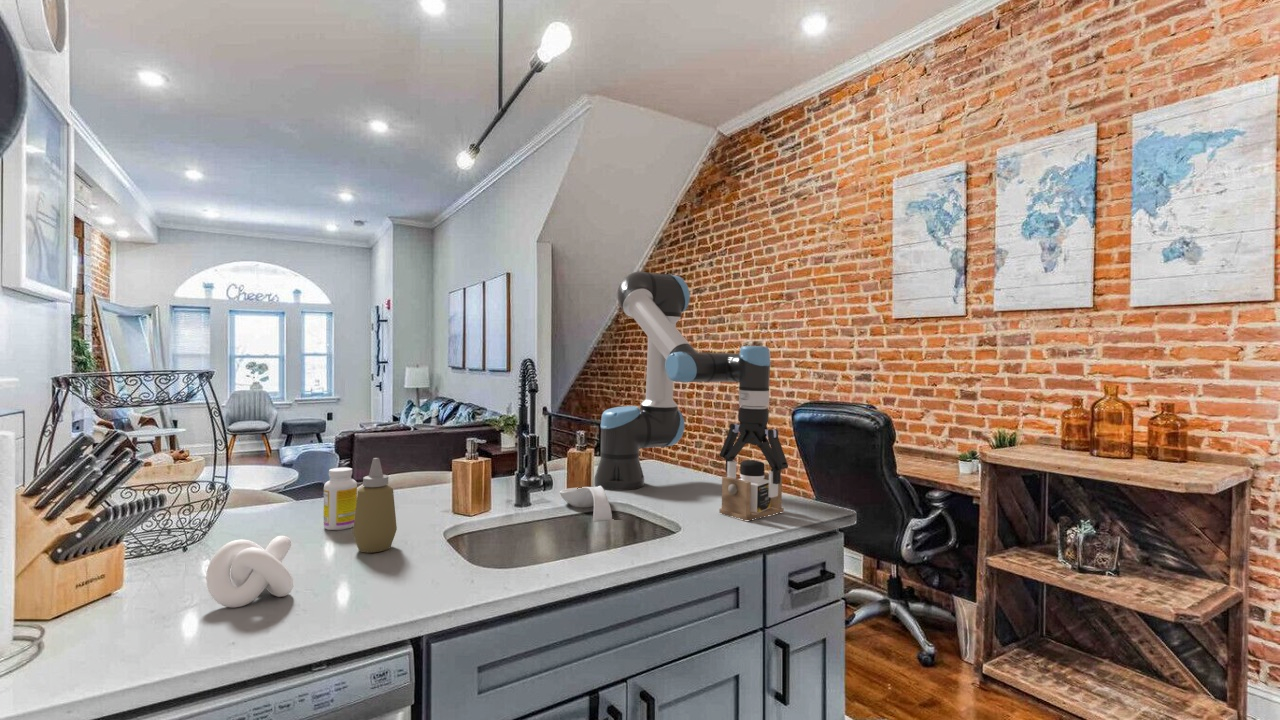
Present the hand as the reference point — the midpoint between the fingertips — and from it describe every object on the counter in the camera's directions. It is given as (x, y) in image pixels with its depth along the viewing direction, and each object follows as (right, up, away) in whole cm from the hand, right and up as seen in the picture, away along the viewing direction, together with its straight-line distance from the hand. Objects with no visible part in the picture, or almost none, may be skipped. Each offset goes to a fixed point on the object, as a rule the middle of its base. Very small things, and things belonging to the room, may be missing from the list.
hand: (751, 491), depth 150 cm
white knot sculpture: (-89, -5, -55) cm, 105 cm away
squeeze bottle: (-81, -5, -32) cm, 87 cm away
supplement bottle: (-95, -4, -18) cm, 97 cm away
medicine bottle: (0, -5, 0) cm, 5 cm away
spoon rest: (-41, -5, +1) cm, 42 cm away
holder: (0, -6, 0) cm, 6 cm away
